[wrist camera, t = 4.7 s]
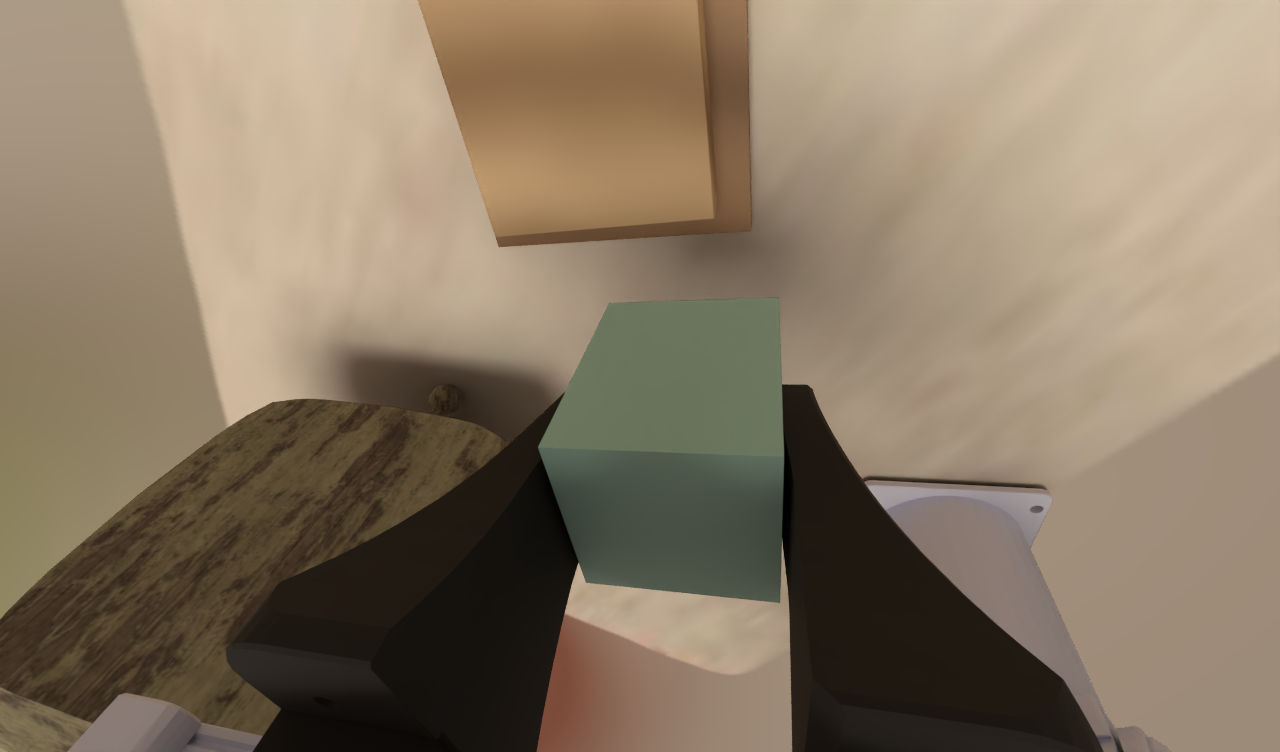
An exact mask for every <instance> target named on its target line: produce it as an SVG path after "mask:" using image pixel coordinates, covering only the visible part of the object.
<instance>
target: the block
mask: <svg viewBox="0 0 1280 752" xmlns="http://www.w3.org/2000/svg"><path fill="white" fill-rule="evenodd" d="M538 449H539V452H540V455H541V457H542V460H543V463H544V466H545V469H546V471H547V474H548V477H549V480H550V483H551V485H552V488H553V491H554V494H555V497H556V499H557V502H558V505H559V508H560V511H561V514H562V516H563V519H564V522H565V525H566V528H567V530H568V533H569V536H570V539H571V542H572V544H573V547H574V550H575V553H576V556H577V558H578V561H579V564H580V567H581V570H582V572H583V575H584V578H585V581H586V583H595V584H605V585H614V586H624V587H633V588H643V589H653V590H662V591H672V592H681V593H691V594H700V595H710V596H720V597H729V598H739V599H748V600H758V601H767V602H777V603H780V587H781V551H782V515H783V478H784V438H783V407H782V375H781V344H780V312H779V297H775V298H745V299H716V300H686V301H656V302H626V303H609V305H608V307H607V309H606V311H605V313H604V315H603V317H602V319H601V321H600V323H599V325H598V327H597V329H596V331H595V333H594V335H593V337H592V339H591V341H590V343H589V345H588V347H587V349H586V351H585V353H584V355H583V357H582V359H581V361H580V363H579V365H578V367H577V370H576V372H575V374H574V376H573V378H572V380H571V382H570V384H569V386H568V388H567V390H566V392H565V394H564V396H563V398H562V400H561V402H560V404H559V406H558V408H557V410H556V412H555V414H554V416H553V418H552V420H551V422H550V424H549V426H548V428H547V430H546V432H545V434H544V436H543V438H542V440H541V442H540V444H539V446H538Z"/></svg>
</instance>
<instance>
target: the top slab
mask: <svg viewBox="0 0 1280 752" xmlns="http://www.w3.org/2000/svg"><path fill="white" fill-rule="evenodd" d="M418 2H419V5H420V8H421V11H422V14H423V17H424V20H425V23H426V26H427V29H428V32H429V35H430V38H431V41H432V45H433V48H434V51H435V54H436V57H437V60H438V63H439V66H440V69H441V72H442V75H443V78H444V81H445V84H446V87H447V90H448V93H449V96H450V99H451V102H452V105H453V108H454V112H455V115H456V118H457V121H458V124H459V127H460V130H461V133H462V136H463V139H464V142H465V145H466V148H467V151H468V154H469V157H470V160H471V163H472V166H473V169H474V172H475V175H476V179H477V182H478V185H479V188H480V191H481V194H482V197H483V200H484V203H485V206H486V209H487V212H488V215H489V218H490V221H491V224H492V227H493V230H494V233H495V236H496V237H502V236H514V235H525V234H537V233H549V232H561V231H572V230H584V229H596V228H608V227H619V226H631V225H643V224H654V223H666V222H678V221H690V220H701V219H713V218H714V216H715V212H716V208H717V204H718V202H717V188H716V173H715V159H714V145H713V131H712V117H711V103H710V89H709V75H708V61H707V47H706V32H705V18H704V4H703V0H418Z"/></svg>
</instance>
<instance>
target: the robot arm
mask: <svg viewBox="0 0 1280 752" xmlns="http://www.w3.org/2000/svg"><path fill="white" fill-rule="evenodd" d="M564 394H565V393H564ZM564 394H562V395H561V396H560V397H559V398H558V399H557V400H556V401H555V402H554V403H553V404H552V405H551V406H550V407H549V408H548V409H547V410H546V411H545V412H544V413H543V414H542V415H541V416H540V417H538V418H537V419H536V420H535V421H534V422H533V423H532V424H531V425H530V426H529V427H528V428H527V429H526V430H524V431H523V432H522V433H521V434H520V435H519V436H518V437H517V438H516V439H515V440H513V441H512V442H511V443H510V444H509V445H508V446H506V447H505V448H504V449H503V450H502V451H500V452H499V453H498V454H497V455H496V456H495V457H493V458H492V459H491V460H490V461H489V462H488V463H486V464H485V465H484V466H483V467H481V468H480V469H479V470H478V471H476V472H475V473H474V474H472V475H471V476H470V477H468V478H467V479H466V480H464V481H463V482H462V483H460V484H459V485H457V486H456V487H455V488H453V489H452V490H450V491H449V492H448V493H446V494H445V495H443V496H442V497H440V498H439V499H437V500H436V501H434V502H432V503H431V504H429V505H428V506H426V507H424V508H423V509H421V510H420V511H418V512H416V513H415V514H413V515H412V516H410V517H408V518H407V519H405V520H404V521H402V522H400V523H399V524H397V525H395V526H393V527H392V528H390V529H388V530H386V531H384V532H383V533H381V534H379V535H377V536H375V537H374V538H372V539H370V540H368V541H366V542H364V543H362V544H360V545H358V546H356V547H354V548H353V549H351V550H349V551H347V552H345V553H343V554H340V555H338V556H336V557H334V558H332V559H330V560H328V561H326V562H323V563H321V564H319V565H317V566H315V567H312V568H310V569H308V570H306V571H304V572H301V573H299V574H297V575H295V576H293V577H290V578H288V579H286V580H283V581H281V582H279V583H278V585H277V586H276V587H275V588H274V590H273V591H272V592H271V593H270V595H269V596H268V597H267V598H266V600H265V601H264V602H263V603H262V604H261V606H260V607H259V608H258V609H257V611H256V612H255V613H254V614H253V616H252V617H251V618H250V619H249V621H248V622H247V623H246V624H245V625H244V627H243V628H242V629H241V630H240V632H239V633H238V634H237V635H236V637H235V638H234V639H233V640H232V641H231V643H230V644H229V645H228V646H227V648H226V660H227V662H228V664H229V665H230V667H231V668H232V670H234V671H235V672H236V673H237V674H238V675H239V676H240V677H241V678H242V679H244V680H245V681H246V682H248V683H249V684H250V685H251V686H253V687H254V688H255V689H256V690H258V691H259V692H260V693H262V694H263V695H264V696H265V697H267V698H268V699H269V700H271V701H272V702H273V703H274V704H276V705H277V706H278V707H279V708H281V710H280V711H279V713H278V714H277V716H276V717H275V719H274V720H273V722H272V723H271V725H270V726H269V728H268V729H267V731H266V732H265V734H264V735H263V736H261V735H256V734H251V733H247V732H242V731H237V730H233V729H228V728H223V727H219V726H214V725H210V724H205V723H201V721H200V719H199V718H198V717H196V716H195V715H194V714H192V713H191V712H189V711H187V710H186V709H184V708H182V707H180V706H178V705H175V704H173V703H170V702H167V701H163V700H158V699H154V698H149V697H144V696H139V695H134V694H129V693H124V694H120V695H118V696H117V698H116V699H115V700H114V701H113V702H112V703H111V704H110V705H109V706H108V707H107V708H106V710H105V711H104V712H103V713H102V714H101V715H100V716H99V717H98V718H97V719H96V721H95V722H94V723H93V724H92V725H91V726H90V727H89V728H88V729H87V730H86V732H85V733H84V734H83V735H82V736H81V737H80V738H79V739H78V740H77V741H76V743H75V744H74V745H73V746H72V747H71V748H70V749H69V750H68V751H67V752H536V751H537V746H538V740H539V734H540V728H541V722H542V716H543V711H544V706H545V701H546V696H547V691H548V686H549V681H550V676H551V671H552V666H553V662H554V657H555V653H556V648H557V644H558V639H559V634H560V630H561V626H562V621H563V617H564V613H565V609H566V605H567V601H568V597H569V593H570V589H571V585H572V581H573V578H574V575H575V572H576V569H577V565H578V563H579V561H578V558H577V556H576V553H575V550H574V547H573V544H572V542H571V539H570V536H569V533H568V530H567V528H566V525H565V522H564V519H563V516H562V514H561V511H560V508H559V505H558V502H557V499H556V497H555V494H554V491H553V488H552V485H551V483H550V480H549V477H548V474H547V471H546V469H545V466H544V463H543V460H542V457H541V455H540V452H539V449H538V446H539V444H540V442H541V440H542V438H543V436H544V434H545V432H546V430H547V428H548V426H549V424H550V422H551V420H552V418H553V416H554V414H555V412H556V410H557V408H558V406H559V404H560V402H561V400H562V398H563V396H564ZM782 407H783V438H784V478H783V515H782V542H783V550H784V559H785V567H786V576H787V585H788V597H789V613H790V655H791V699H792V700H791V704H792V752H1171V750H1170V749H1169V748H1168V747H1166V746H1165V745H1163V744H1162V743H1160V742H1158V741H1157V740H1155V739H1153V738H1151V737H1147V735H1146V734H1145V733H1144V731H1143V730H1142V729H1140V728H1138V727H1136V726H1130V727H1125V728H1117V729H1116V728H1115V726H1114V725H1113V724H1112V722H1111V720H1110V719H1109V717H1108V716H1107V715H1106V713H1105V711H1104V709H1103V707H1102V705H1101V703H1100V701H1099V698H1098V696H1097V694H1096V692H1095V689H1094V687H1093V685H1092V683H1091V681H1090V678H1089V676H1088V674H1087V672H1086V670H1085V668H1084V665H1083V663H1082V661H1081V659H1080V657H1079V654H1078V652H1077V650H1076V648H1075V646H1074V644H1073V641H1072V639H1071V637H1070V635H1069V633H1068V631H1067V628H1066V626H1065V624H1064V622H1063V620H1062V617H1061V615H1060V613H1059V611H1058V609H1057V606H1056V604H1055V602H1054V600H1053V598H1052V596H1051V593H1050V591H1049V589H1048V587H1047V585H1046V583H1045V580H1044V578H1043V576H1042V574H1041V571H1040V569H1039V567H1038V565H1037V563H1036V561H1035V558H1034V556H1033V554H1032V552H1031V550H1030V548H1031V546H1032V544H1033V542H1034V539H1035V537H1036V535H1037V533H1038V531H1039V529H1040V527H1041V525H1042V523H1043V521H1044V519H1045V517H1046V514H1047V512H1048V510H1049V508H1050V506H1051V504H1052V501H1053V499H1052V497H1051V495H1050V493H1049V492H1048V491H1047V490H1045V489H1037V488H1017V487H998V486H978V485H958V484H938V483H918V482H898V481H878V480H868V481H865V482H864V481H863V480H862V478H861V477H860V476H859V474H858V473H857V471H856V470H855V468H854V467H853V465H852V464H851V462H850V461H849V459H848V458H847V456H846V454H845V453H844V451H843V450H842V448H841V446H840V445H839V443H838V441H837V440H836V438H835V436H834V435H833V433H832V431H831V429H830V427H829V426H828V424H827V422H826V420H825V418H824V416H823V414H822V412H821V410H820V408H819V405H818V403H817V401H816V398H815V395H814V393H813V389H812V388H810V387H809V386H808V385H782Z"/></svg>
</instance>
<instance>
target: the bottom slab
mask: <svg viewBox="0 0 1280 752" xmlns="http://www.w3.org/2000/svg"><path fill="white" fill-rule="evenodd" d="M703 4H704V18H705V32H706V47H707V61H708V75H709V89H710V103H711V117H712V131H713V145H714V159H715V173H716V188H717V202H718V204H717V208H716V212H715V216H714V218H713V219H701V220H690V221H678V222H666V223H654V224H643V225H631V226H619V227H608V228H596V229H584V230H572V231H561V232H549V233H537V234H525V235H514V236H502V237H496V240H497V243H498V246H499V247H507V246H522V245H538V244H553V243H569V242H585V241H600V240H616V239H631V238H647V237H662V236H678V235H693V234H709V233H725V232H740V231H751V224H752V219H751V166H750V113H749V60H748V7H747V0H703Z"/></svg>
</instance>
